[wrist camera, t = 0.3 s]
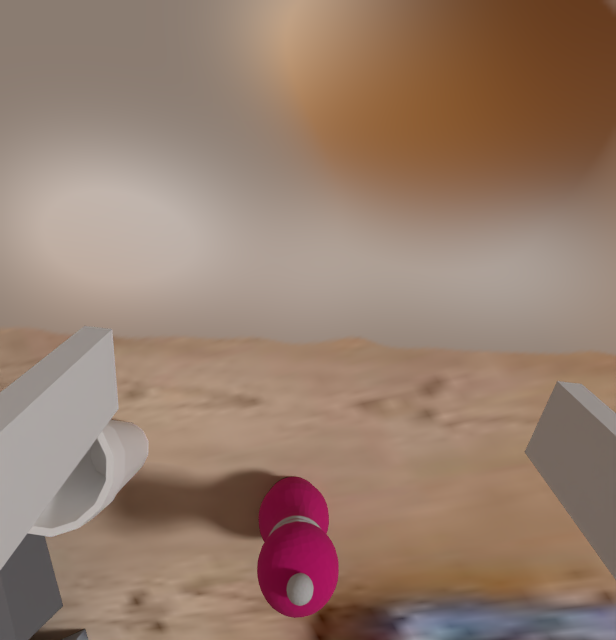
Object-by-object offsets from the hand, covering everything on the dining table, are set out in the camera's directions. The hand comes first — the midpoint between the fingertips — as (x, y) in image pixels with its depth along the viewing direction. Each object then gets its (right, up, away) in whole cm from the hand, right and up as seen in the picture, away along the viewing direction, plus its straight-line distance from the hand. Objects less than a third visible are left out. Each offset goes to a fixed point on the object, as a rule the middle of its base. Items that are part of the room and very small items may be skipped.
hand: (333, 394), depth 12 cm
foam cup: (-22, -13, +33) cm, 41 cm away
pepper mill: (-3, -19, +33) cm, 38 cm away
